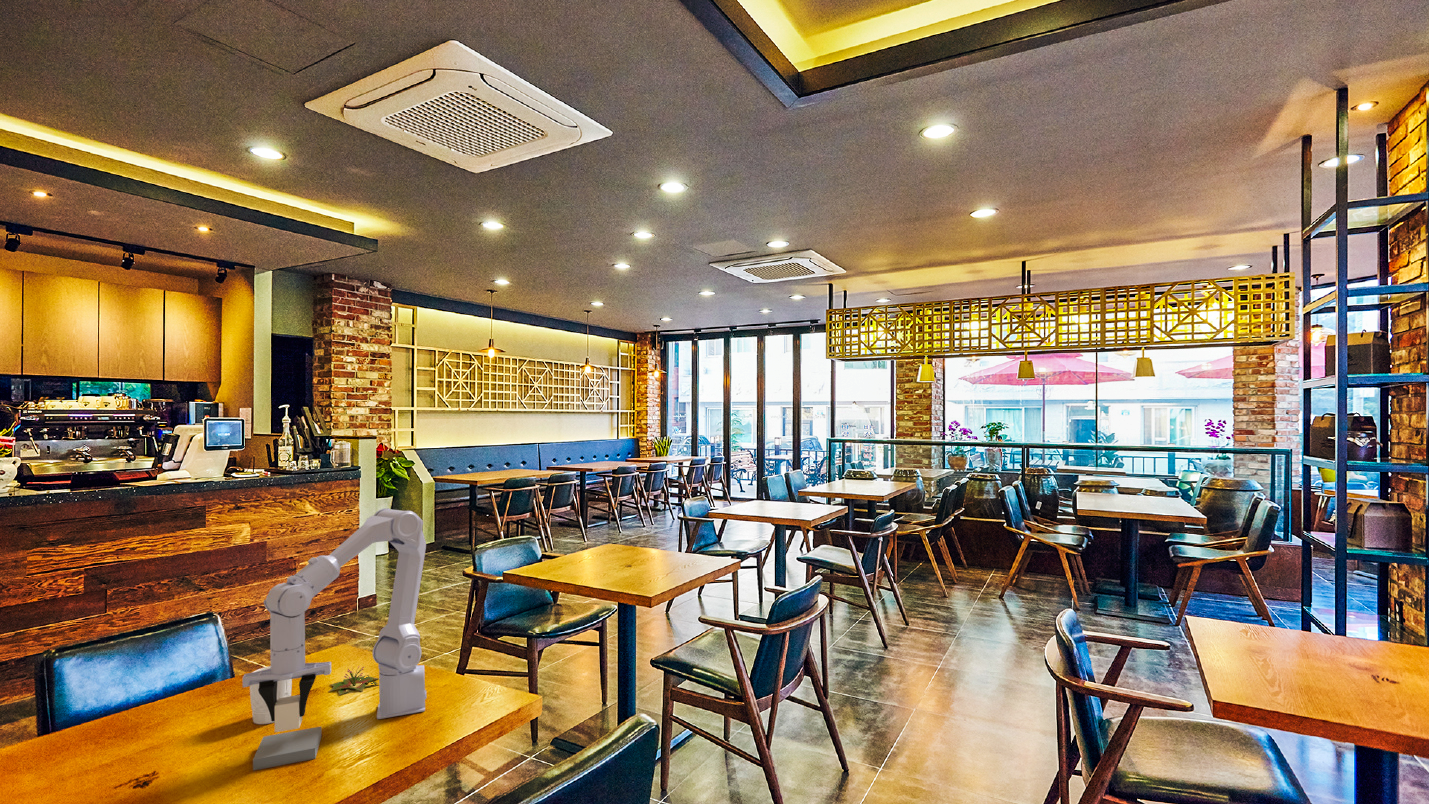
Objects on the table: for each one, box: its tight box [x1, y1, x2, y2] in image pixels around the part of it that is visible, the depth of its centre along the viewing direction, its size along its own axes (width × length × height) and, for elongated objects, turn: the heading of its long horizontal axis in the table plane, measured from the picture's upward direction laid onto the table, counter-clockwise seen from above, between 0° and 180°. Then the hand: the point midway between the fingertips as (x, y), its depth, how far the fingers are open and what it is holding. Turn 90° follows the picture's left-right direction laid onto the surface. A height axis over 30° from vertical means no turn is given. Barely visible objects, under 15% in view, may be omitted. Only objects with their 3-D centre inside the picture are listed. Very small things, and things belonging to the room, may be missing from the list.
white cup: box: [249, 665, 293, 725], centre depth 149 cm, size 8×8×10 cm
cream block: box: [274, 694, 303, 733], centre depth 134 cm, size 4×4×5 cm
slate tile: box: [252, 726, 323, 771], centre depth 133 cm, size 10×10×2 cm
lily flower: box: [327, 666, 379, 696], centre depth 166 cm, size 12×12×5 cm
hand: (288, 716), depth 134 cm, fingers closed on cream block, 4 cm apart
